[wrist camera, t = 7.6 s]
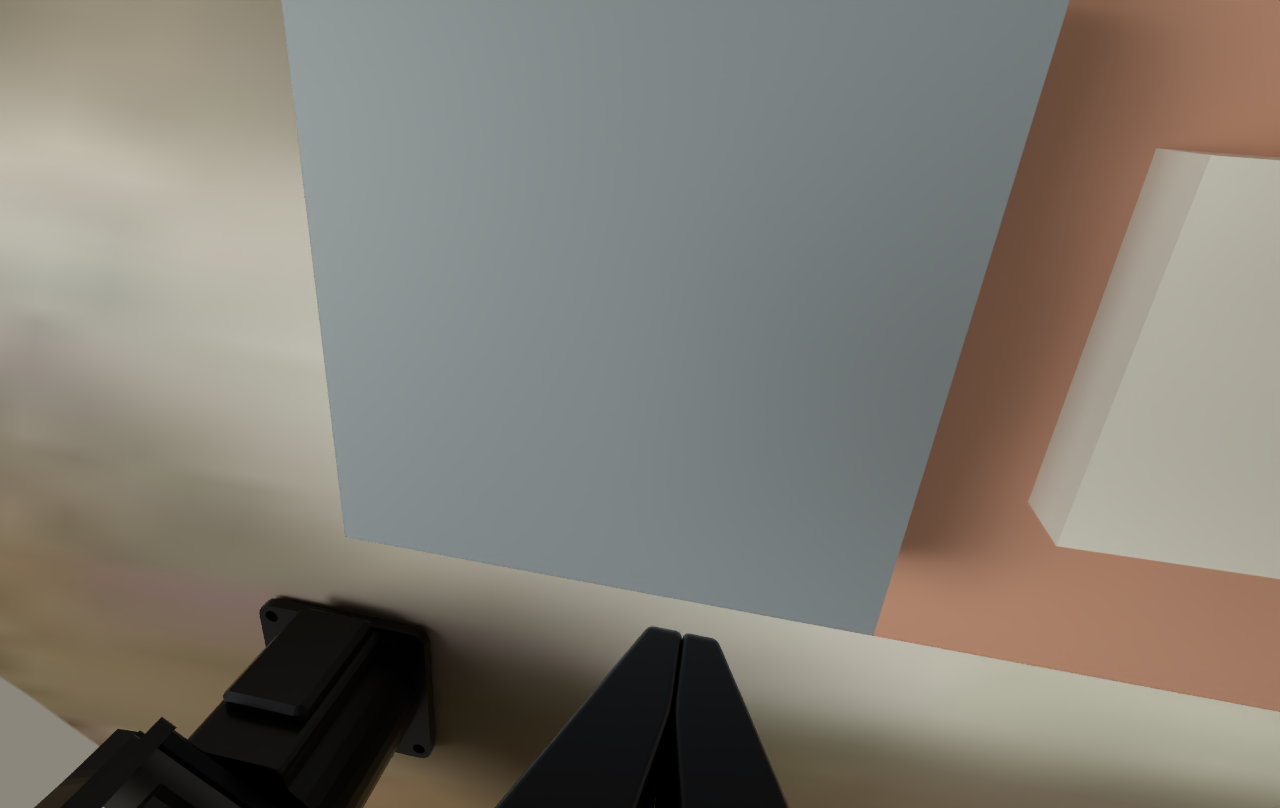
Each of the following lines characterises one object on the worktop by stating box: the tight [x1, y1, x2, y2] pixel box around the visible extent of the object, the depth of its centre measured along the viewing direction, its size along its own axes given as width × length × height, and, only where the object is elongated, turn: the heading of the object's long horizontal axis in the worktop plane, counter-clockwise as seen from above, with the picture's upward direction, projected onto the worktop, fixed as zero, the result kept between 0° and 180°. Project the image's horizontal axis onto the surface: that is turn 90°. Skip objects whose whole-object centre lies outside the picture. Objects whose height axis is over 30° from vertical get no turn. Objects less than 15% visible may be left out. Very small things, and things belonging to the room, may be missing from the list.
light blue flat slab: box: [282, 0, 1070, 636], centre depth 16 cm, size 14×14×4 cm
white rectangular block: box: [1028, 148, 1280, 579], centre depth 15 cm, size 9×6×2 cm, turn 176°
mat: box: [873, 0, 1280, 712], centre depth 16 cm, size 20×14×1 cm
